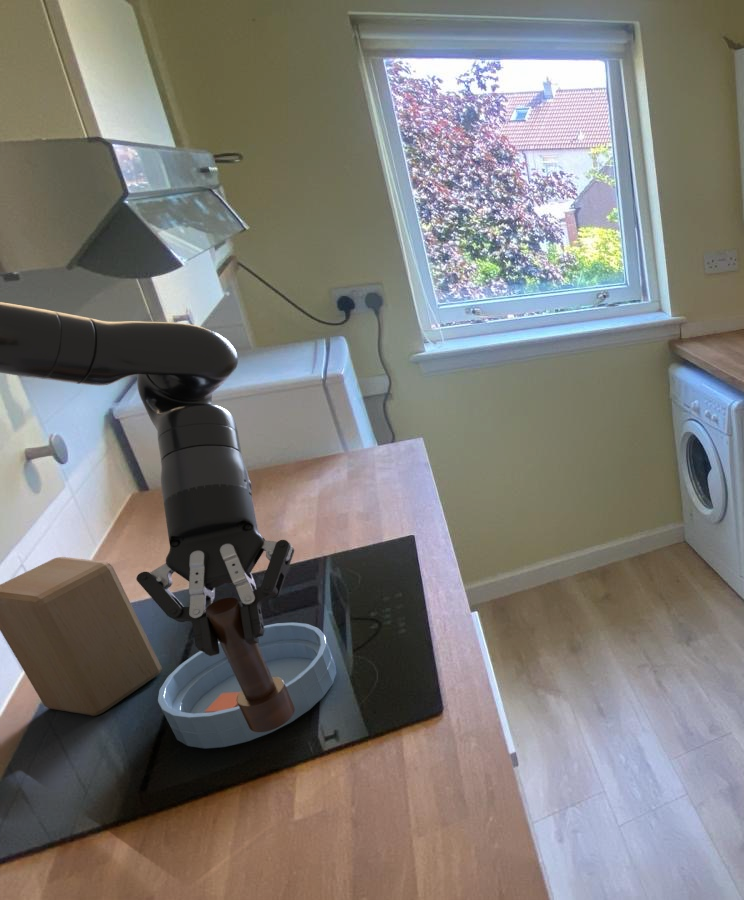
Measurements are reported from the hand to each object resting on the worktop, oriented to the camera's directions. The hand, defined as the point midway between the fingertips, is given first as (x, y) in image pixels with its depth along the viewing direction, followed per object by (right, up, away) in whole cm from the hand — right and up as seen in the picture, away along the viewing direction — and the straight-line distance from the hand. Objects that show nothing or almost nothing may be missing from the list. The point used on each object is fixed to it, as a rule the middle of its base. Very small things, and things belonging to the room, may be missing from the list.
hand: (232, 647), depth 75 cm
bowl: (-19, -15, +30) cm, 39 cm away
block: (-19, -17, +25) cm, 36 cm away
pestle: (-1, -10, +7) cm, 12 cm away
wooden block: (-43, -15, +32) cm, 56 cm away
